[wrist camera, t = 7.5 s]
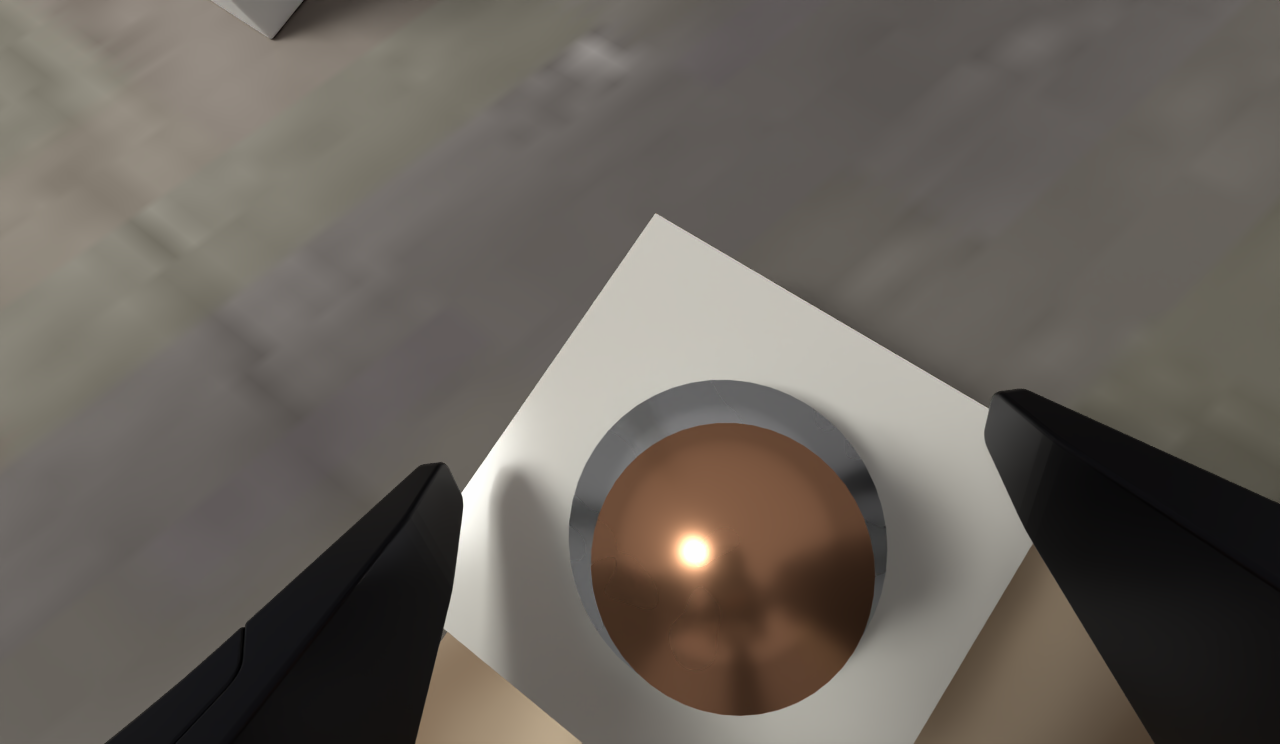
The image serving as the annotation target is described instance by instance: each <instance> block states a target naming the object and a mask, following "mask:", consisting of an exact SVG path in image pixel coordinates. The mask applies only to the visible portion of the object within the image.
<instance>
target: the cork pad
mask: <svg viewBox="0 0 1280 744" xmlns="http://www.w3.org/2000/svg"><path fill="white" fill-rule="evenodd" d="M415 744H583V743H582V742H581V741H579V740H578V739H577V738H576V737H574V736H573V735H572V734H571V733H570V732H568V731H567V730H566V729H565V728H564V727H562V726H561V725H560V724H559V723H558V722H556V721H555V720H554V719H553V718H551V717H550V716H549V715H548V714H547V713H545V712H544V711H543V710H542V709H541V708H539V707H538V706H537V705H536V704H535V703H533V702H532V701H531V700H530V699H528V698H527V697H526V696H525V695H524V694H522V693H521V692H520V691H519V690H518V689H516V688H515V687H514V686H513V685H512V684H510V683H509V682H508V681H507V680H505V679H504V678H503V677H502V676H501V675H499V674H498V673H497V672H496V671H495V670H493V669H492V668H491V667H490V666H489V665H487V664H486V663H485V662H484V661H482V660H481V659H480V658H479V657H478V656H476V655H475V654H474V653H473V652H472V651H470V650H469V649H468V648H467V647H466V646H464V645H463V644H462V643H461V642H459V641H458V640H457V639H456V638H455V637H453V636H452V635H451V634H450V633H449V632H447V633H446V635H445V636H444V638H443V639H442V641H441V642H440V645H439V649H438V653H437V657H436V661H435V665H434V669H433V673H432V677H431V681H430V685H429V690H428V694H427V698H426V702H425V706H424V710H423V714H422V718H421V722H420V726H419V730H418V735H417V739H416V743H415ZM914 744H1154V742H1153V741H1152V739H1151V737H1150V736H1149V734H1148V732H1147V731H1146V729H1145V727H1144V726H1143V724H1142V722H1141V721H1140V719H1139V718H1138V716H1137V714H1136V713H1135V711H1134V709H1133V708H1132V706H1131V704H1130V703H1129V701H1128V699H1127V698H1126V696H1125V694H1124V693H1123V691H1122V689H1121V688H1120V686H1119V685H1118V683H1117V681H1116V680H1115V678H1114V676H1113V675H1112V673H1111V671H1110V670H1109V668H1108V666H1107V665H1106V663H1105V661H1104V660H1103V658H1102V656H1101V655H1100V653H1099V652H1098V650H1097V648H1096V647H1095V645H1094V643H1093V642H1092V640H1091V638H1090V637H1089V635H1088V633H1087V632H1086V630H1085V628H1084V627H1083V625H1082V623H1081V622H1080V620H1079V618H1078V617H1077V615H1076V614H1075V612H1074V610H1073V609H1072V607H1071V605H1070V604H1069V602H1068V600H1067V599H1066V597H1065V595H1064V594H1063V592H1062V590H1061V589H1060V587H1059V585H1058V584H1057V582H1056V581H1055V579H1054V577H1053V576H1052V574H1051V572H1050V571H1049V569H1048V567H1047V566H1046V564H1045V562H1044V561H1043V559H1042V557H1041V556H1040V554H1039V552H1038V551H1037V549H1036V548H1035V546H1034V544H1032V546H1031V547H1030V549H1029V551H1028V552H1027V554H1026V556H1025V557H1024V559H1023V561H1022V563H1021V564H1020V566H1019V568H1018V569H1017V571H1016V573H1015V574H1014V576H1013V578H1012V579H1011V581H1010V583H1009V584H1008V586H1007V588H1006V589H1005V591H1004V593H1003V594H1002V596H1001V598H1000V599H999V601H998V603H997V604H996V606H995V608H994V609H993V611H992V613H991V615H990V616H989V618H988V620H987V621H986V623H985V625H984V626H983V628H982V630H981V631H980V633H979V635H978V636H977V638H976V640H975V641H974V643H973V645H972V646H971V648H970V650H969V651H968V653H967V655H966V656H965V658H964V660H963V661H962V663H961V665H960V667H959V668H958V670H957V672H956V673H955V675H954V677H953V678H952V680H951V682H950V683H949V685H948V687H947V688H946V690H945V692H944V693H943V695H942V697H941V698H940V700H939V702H938V703H937V705H936V707H935V708H934V710H933V712H932V713H931V715H930V717H929V719H928V720H927V722H926V724H925V725H924V727H923V729H922V730H921V732H920V734H919V735H918V737H917V739H916V740H915V742H914Z"/></svg>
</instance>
